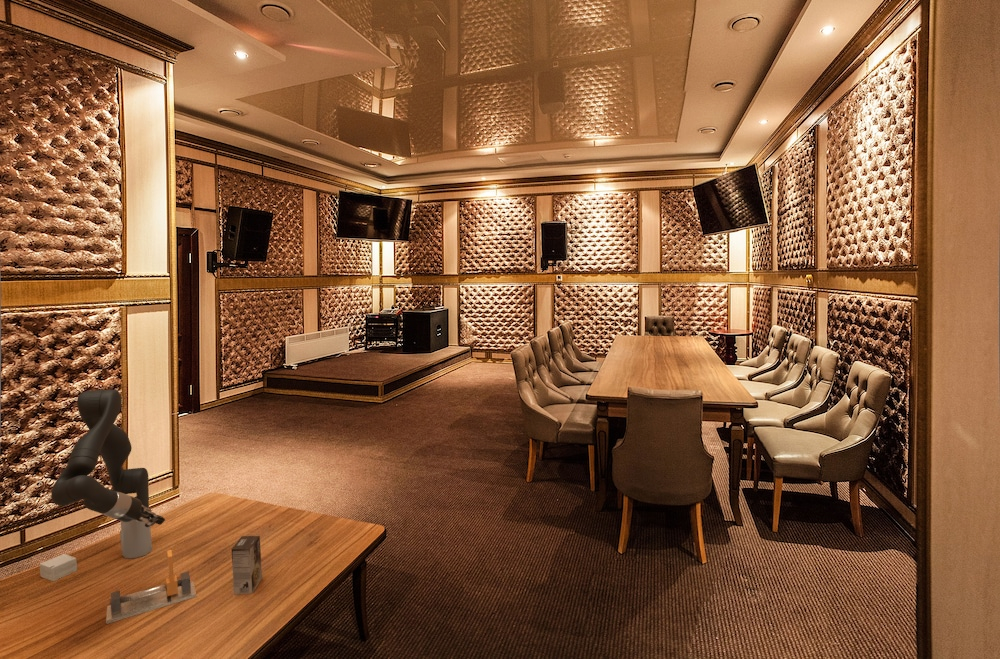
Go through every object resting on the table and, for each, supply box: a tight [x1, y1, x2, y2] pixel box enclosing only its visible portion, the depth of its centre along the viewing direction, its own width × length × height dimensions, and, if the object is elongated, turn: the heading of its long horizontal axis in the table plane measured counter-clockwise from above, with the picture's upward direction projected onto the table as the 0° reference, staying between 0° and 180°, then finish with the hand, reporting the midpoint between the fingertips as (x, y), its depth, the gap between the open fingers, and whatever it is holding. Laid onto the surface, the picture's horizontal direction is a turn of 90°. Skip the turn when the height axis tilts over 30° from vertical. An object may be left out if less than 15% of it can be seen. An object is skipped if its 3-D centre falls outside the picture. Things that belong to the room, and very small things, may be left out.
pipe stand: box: [105, 570, 197, 625], centre depth 171 cm, size 24×9×6 cm, turn 125°
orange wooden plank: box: [165, 549, 178, 596], centre depth 174 cm, size 3×5×13 cm, turn 35°
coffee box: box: [231, 535, 263, 595], centre depth 180 cm, size 9×6×16 cm
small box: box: [39, 553, 78, 582], centre depth 188 cm, size 8×8×5 cm
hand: (162, 521), depth 181 cm, fingers closed
